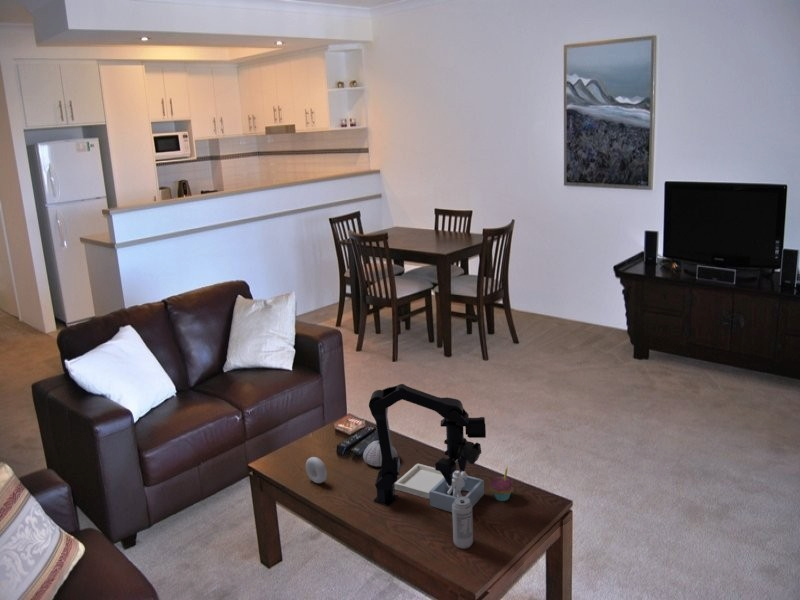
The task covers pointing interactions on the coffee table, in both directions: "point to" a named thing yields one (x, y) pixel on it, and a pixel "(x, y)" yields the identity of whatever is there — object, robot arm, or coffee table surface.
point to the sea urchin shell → (374, 454)
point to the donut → (321, 471)
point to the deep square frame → (445, 501)
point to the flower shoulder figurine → (457, 483)
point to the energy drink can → (462, 522)
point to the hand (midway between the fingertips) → (456, 478)
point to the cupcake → (502, 487)
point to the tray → (419, 480)
